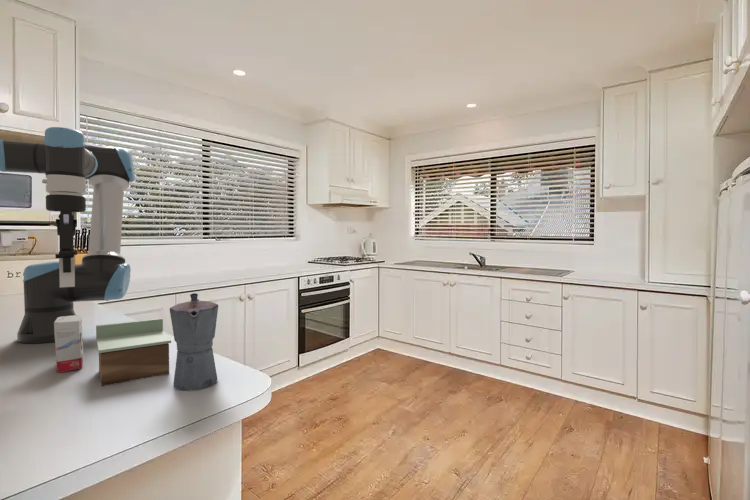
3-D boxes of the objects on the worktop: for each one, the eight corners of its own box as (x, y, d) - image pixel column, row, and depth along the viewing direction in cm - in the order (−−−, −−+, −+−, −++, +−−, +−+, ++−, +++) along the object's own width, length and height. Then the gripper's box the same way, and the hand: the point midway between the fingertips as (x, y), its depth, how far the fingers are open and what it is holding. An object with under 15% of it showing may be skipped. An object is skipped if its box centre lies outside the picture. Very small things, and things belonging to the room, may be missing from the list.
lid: (96, 340, 93) (96, 325, 93) (162, 332, 102) (162, 318, 101) (98, 353, 84) (98, 336, 84) (171, 342, 92) (171, 327, 92)
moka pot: (170, 399, 79) (169, 299, 78) (170, 374, 92) (169, 288, 91) (221, 391, 83) (221, 296, 82) (214, 368, 97) (213, 286, 96)
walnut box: (99, 371, 94) (98, 341, 93) (161, 361, 101) (160, 333, 101) (101, 386, 85) (101, 353, 84) (169, 373, 93) (168, 344, 92)
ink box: (81, 370, 94) (80, 320, 94) (54, 374, 92) (53, 323, 91) (83, 359, 102) (83, 314, 101) (58, 363, 99) (57, 316, 98)
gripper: (48, 197, 102) (50, 279, 103) (42, 189, 82) (44, 291, 83) (84, 199, 107) (85, 278, 108) (86, 191, 87) (88, 288, 88)
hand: (67, 283), depth 95 cm, fingers open, 13 cm apart
